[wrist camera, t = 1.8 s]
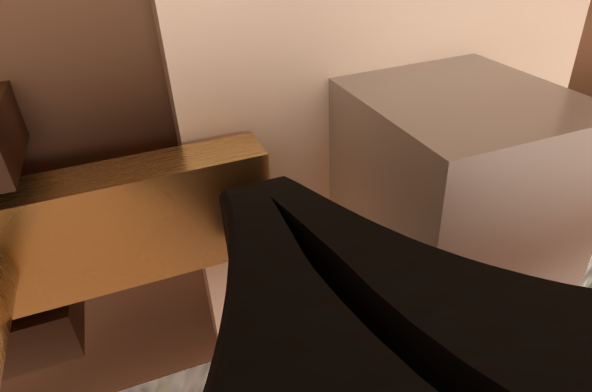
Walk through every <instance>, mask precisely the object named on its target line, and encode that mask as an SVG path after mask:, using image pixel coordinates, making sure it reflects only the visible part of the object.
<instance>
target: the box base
mask: <svg viewBox="0 0 592 392" xmlns="http://www.w3.org/2000/svg"><path fill="white" fill-rule="evenodd" d="M568 88H569V89H571V90H574V91H577V92H579V93H582V94H585V95H587V96H590V97H592V0H591V1H590V5H589V8H588V12H587V16H586V20H585V24H584V27H583V31H582V35H581V39H580V43H579V47H578V50H577V54H576V58H575V62H574V66H573V69H572V73H571V77H570V81H569V85H568ZM175 146H178V141H177V136H176V131H175V125H174V120H173V115H172V110H171V105H170V100H169V94H168V89H167V84H166V79H165V74H164V68H163V63H162V58H161V53H160V48H159V43H158V37H157V32H156V27H155V22H154V17H153V11H152V6H151V1H150V0H0V194H4V193H9V192H14V191H17V187H18V183H19V178H20V177H21V176H26V175H31V174H37V173H42V172H47V171H52V170H57V169H62V168H67V167H73V166H78V165H83V164H88V163H93V162H98V161H103V160H109V159H114V158H119V157H124V156H129V155H134V154H139V153H144V152H150V151H155V150H160V149H165V148H170V147H175ZM216 341H217V336H216V333H215V330H214V327H213V322H212V317H211V312H210V307H209V302H208V296H207V291H206V286H205V281H204V276H203V271H202V269H200V270H196V271H192V272H189V273H185V274H181V275H177V276H174V277H170V278H166V279H163V280H159V281H155V282H151V283H148V284H144V285H140V286H137V287H133V288H129V289H125V290H122V291H118V292H114V293H111V294H107V295H103V296H99V297H96V298H92V299H88V300H85V301H81V302H77V303H74V304H70V305H66V306H62V307H59V308H55V309H51V310H48V311H44V312H40V313H36V314H33V315H29V316H25V317H22V318H18V319H14V320H12V322H11V328H10V334H9V340H8V346H7V352H6V357H5V363H4V369H3V375H2V381H1V387H0V392H118V391H121V390H124V389H127V388H130V387H133V386H136V385H139V384H142V383H145V382H149V381H152V380H155V379H158V378H161V377H164V376H167V375H170V374H173V373H176V372H179V371H182V370H185V369H188V368H192V367H195V366H198V365H201V364H204V363H207V362H210V361H212V358H213V354H214V350H215V345H216Z"/></svg>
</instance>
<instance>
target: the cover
mask: <svg viewBox="0 0 592 392" xmlns="http://www.w3.org/2000/svg"><path fill="white" fill-rule="evenodd" d="M150 1H151V6H152V11H153V17H154V22H155V27H156V32H157V37H158V43H159V48H160V53H161V58H162V63H163V68H164V74H165V79H166V84H167V89H168V94H169V100H170V105H171V110H172V115H173V120H174V125H175V131H176V136H177V141H178V146H180V145H186V144H191V143H196V142H201V141H206V140H211V139H216V138H222V137H227V136H232V135H237V134H242V133H247V132H252V133H253V134H254V136H255V137H256V138H257V140H258V141H259V142H260V144H261V145H262V146H263V148H264V149H265V150H266V152H267V153H268V156H269V168H270V179H273V178H277V177H282V176H285V177H288V178H290V179H292V180H294V181H296V182H298V183H300V184H301V185H303V186H305V187H307V188H309V189H311V190H313V191H314V192H316V193H318V194H320V195H322V196H324V197H326V198H327V199H329V200H331V201H333V202H335V203H337V204H339V205H341V206H343V207H345V208H347V209H349V210H351V211H353V212H355V213H357V214H359V215H361V216H363V217H365V218H367V219H369V220H371V221H373V222H375V223H377V224H380V225H382V226H384V227H386V228H389V229H391V230H393V231H396V232H398V233H400V234H403V235H405V236H407V237H410V238H412V239H415V240H417V241H420V242H422V243H425V244H428V245H430V246H433V247H436V248H439V249H442V250H445V251H448V252H451V253H454V254H457V255H459V256H462V257H465V258H468V259H472V260H475V261H478V262H482V263H485V264H488V265H492V266H496V267H500V268H504V269H507V270H511V271H515V272H519V273H523V274H526V275H530V276H534V277H538V278H543V279H547V280H552V281H556V282H561V283H565V284H570V285H576V286H580V285H581V283H582V280H583V277H584V274H585V271H586V269H587V266H588V263H589V260H590V257H591V255H592V97H590V96H587V95H585V94H582V93H579V92H577V91H574V90H571V89H569V88H568V85H569V81H570V77H571V73H572V69H573V66H574V62H575V58H576V54H577V50H578V47H579V43H580V39H581V35H582V31H583V27H584V24H585V20H586V16H587V12H588V8H589V5H590V1H591V0H150ZM202 271H203V276H204V281H205V286H206V291H207V296H208V302H209V307H210V312H211V317H212V322H213V327H214V330H215V333H216V336H217V337H218V333H219V328H220V323H221V317H222V312H223V306H224V300H225V292H226V284H227V272H228V262H226V263H222V264H218V265H215V266H211V267H207V268H203V269H202Z"/></svg>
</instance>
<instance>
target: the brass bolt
mask: <svg viewBox="0 0 592 392" xmlns="http://www.w3.org/2000/svg"><path fill="white" fill-rule="evenodd" d="M269 179H270V168H269V156H268V153H267V152H266V150H265V149H264V148H263V146H262V145H261V144H260V142H259V141H258V140H257V138H256V137H255V136H254V134H253V133H252V132H247V133H242V134H237V135H232V136H227V137H222V138H216V139H211V140H206V141H201V142H196V143H191V144H186V145H180V146H175V147H170V148H165V149H160V150H155V151H150V152H144V153H139V154H134V155H129V156H124V157H119V158H114V159H109V160H103V161H98V162H93V163H88V164H83V165H78V166H73V167H67V168H62V169H57V170H52V171H47V172H42V173H37V174H31V175H26V176H21V177H20V178H19V183H18V187H17V191H14V192H9V193H4V194H0V387H1V381H2V375H3V369H4V363H5V357H6V352H7V346H8V340H9V334H10V328H11V322H12V320H14V319H18V318H22V317H25V316H29V315H33V314H36V313H40V312H44V311H48V310H51V309H55V308H59V307H62V306H66V305H70V304H74V303H77V302H81V301H85V300H88V299H92V298H96V297H99V296H103V295H107V294H111V293H114V292H118V291H122V290H125V289H129V288H133V287H137V286H140V285H144V284H148V283H151V282H155V281H159V280H163V279H166V278H170V277H174V276H177V275H181V274H185V273H189V272H192V271H196V270H200V269H203V268H207V267H211V266H215V265H218V264H222V263H226V262H228V260H229V259H228V252H227V246H226V239H225V233H224V226H223V220H222V213H221V207H220V200H219V195H220V194H221V193H222V191H223V190H224V189H229V188H233V187H238V186H242V185H246V184H251V183H255V182H260V181H264V180H269Z"/></svg>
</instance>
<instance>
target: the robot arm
mask: <svg viewBox="0 0 592 392" xmlns="http://www.w3.org/2000/svg"><path fill="white" fill-rule="evenodd" d="M219 200H220V207H221V213H222V220H223V226H224V233H225V239H226V246H227V252H228V259H229V260H228V272H227V284H226V292H225V300H224V306H223V312H222V317H221V323H220V328H219V333H218V337H217V341H216V345H215V350H214V354H213V358H212V362H211V366H210V370H209V373H208V377H207V380H206V384H205V387H204V391H203V392H592V289H591V288H586V287H581V286H576V285H570V284H565V283H561V282H556V281H552V280H547V279H543V278H538V277H534V276H530V275H526V274H523V273H519V272H515V271H511V270H507V269H504V268H500V267H496V266H492V265H488V264H485V263H482V262H478V261H475V260H472V259H468V258H465V257H462V256H459V255H457V254H454V253H451V252H448V251H445V250H442V249H439V248H436V247H433V246H430V245H428V244H425V243H422V242H420V241H417V240H415V239H412V238H410V237H407V236H405V235H403V234H400V233H398V232H396V231H393V230H391V229H389V228H386V227H384V226H382V225H380V224H377V223H375V222H373V221H371V220H369V219H367V218H365V217H363V216H361V215H359V214H357V213H355V212H353V211H351V210H349V209H347V208H345V207H343V206H341V205H339V204H337V203H335V202H333V201H331V200H329V199H327V198H326V197H324V196H322V195H320V194H318V193H316V192H314V191H313V190H311V189H309V188H307V187H305V186H303V185H301V184H300V183H298V182H296V181H294V180H292V179H290V178H288V177H285V176H282V177H277V178H273V179H269V180H264V181H260V182H255V183H251V184H246V185H242V186H238V187H233V188H229V189H224V190H223V191H222V193H221V194H220V195H219Z"/></svg>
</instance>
